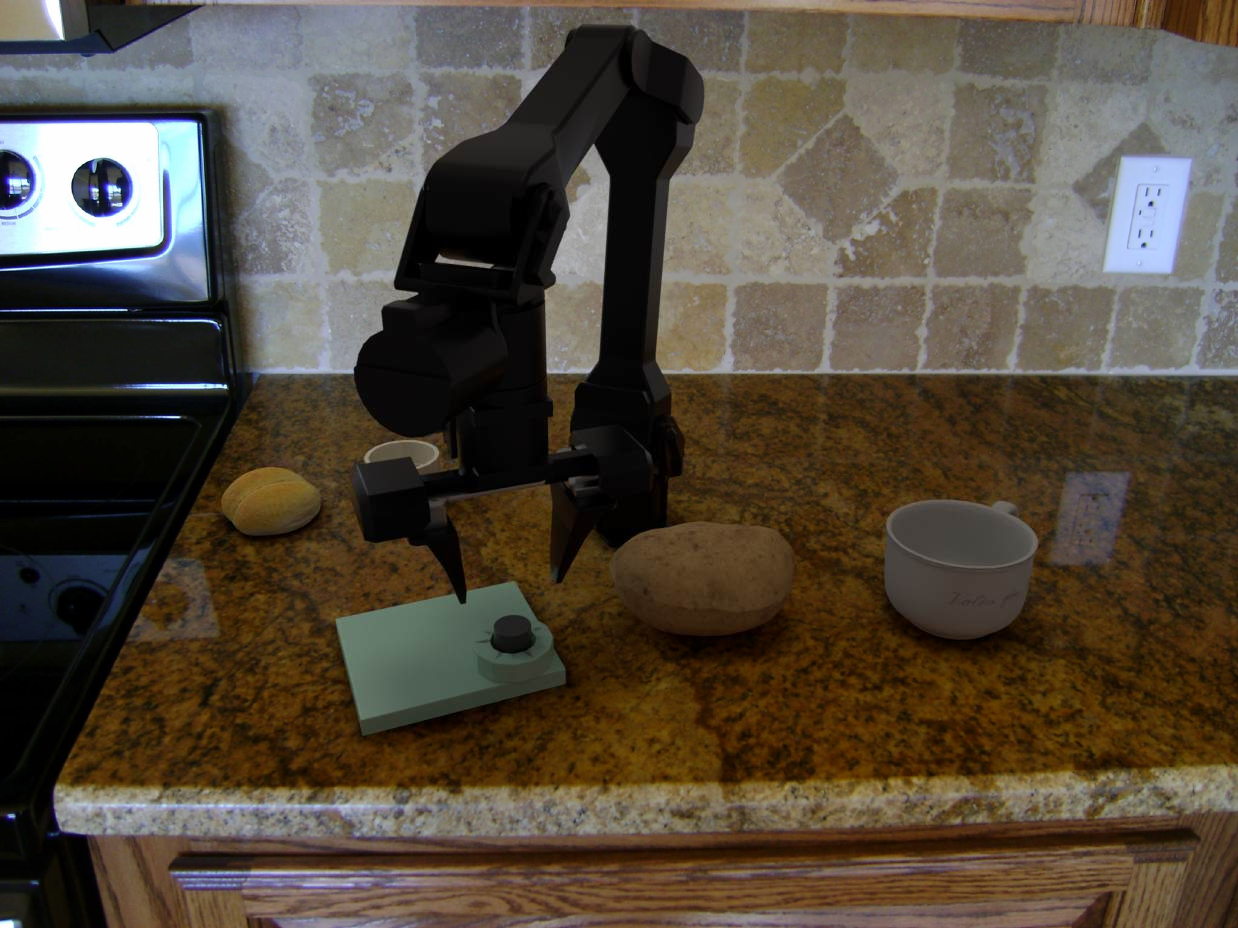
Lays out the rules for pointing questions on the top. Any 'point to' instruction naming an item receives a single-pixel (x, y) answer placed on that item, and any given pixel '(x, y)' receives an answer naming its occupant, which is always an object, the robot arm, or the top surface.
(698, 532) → the potato
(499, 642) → the button
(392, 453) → the grey cylindrical container
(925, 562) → the teacup
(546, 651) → the scale
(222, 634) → the top surface
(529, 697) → the top surface
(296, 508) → the bread roll
